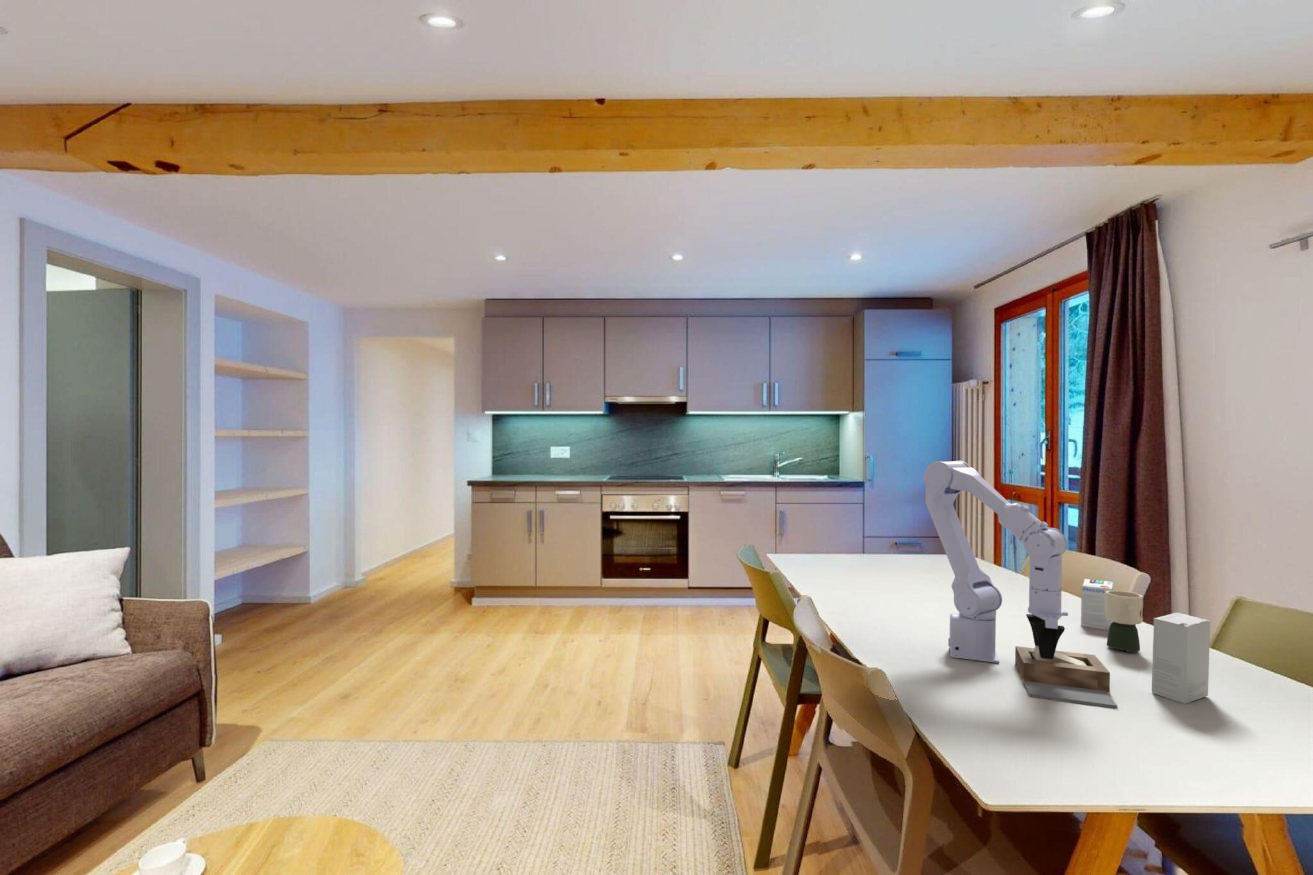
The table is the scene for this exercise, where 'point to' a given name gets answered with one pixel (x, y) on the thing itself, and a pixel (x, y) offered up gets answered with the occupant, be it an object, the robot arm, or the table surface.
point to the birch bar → (1057, 658)
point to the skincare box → (1181, 657)
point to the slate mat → (1069, 694)
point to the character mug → (1123, 619)
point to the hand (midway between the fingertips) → (1044, 654)
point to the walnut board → (1063, 670)
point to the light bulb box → (1094, 604)
